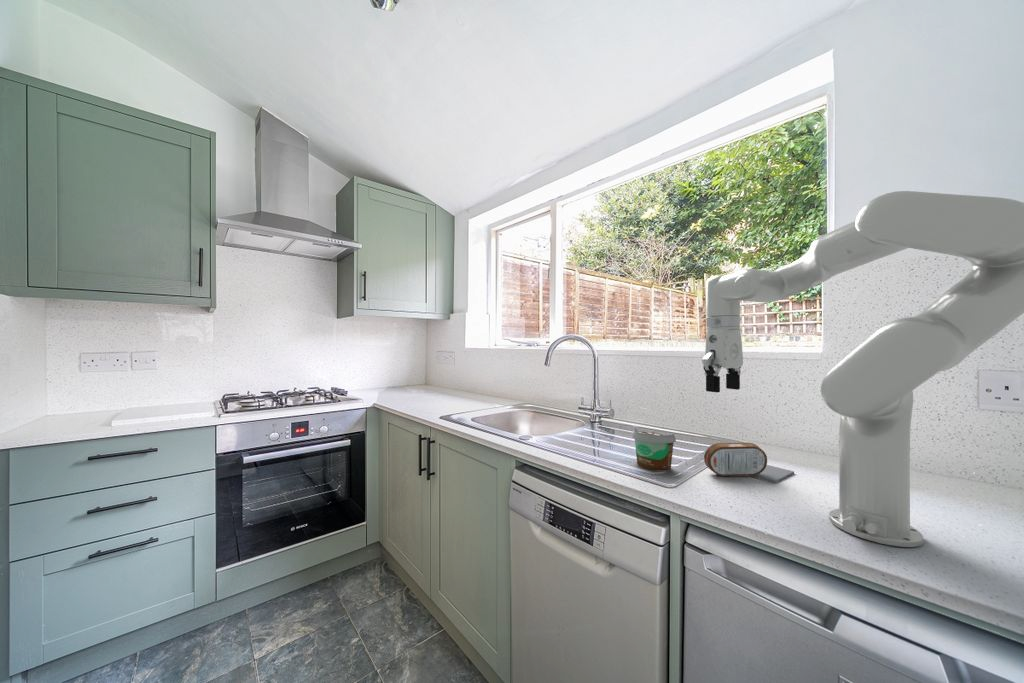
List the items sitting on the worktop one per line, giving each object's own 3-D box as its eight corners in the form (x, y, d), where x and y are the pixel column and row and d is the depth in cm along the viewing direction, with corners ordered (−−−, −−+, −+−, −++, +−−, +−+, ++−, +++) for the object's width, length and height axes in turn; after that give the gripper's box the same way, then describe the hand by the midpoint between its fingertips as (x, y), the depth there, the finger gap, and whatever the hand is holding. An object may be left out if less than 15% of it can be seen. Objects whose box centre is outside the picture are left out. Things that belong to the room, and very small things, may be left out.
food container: (624, 465, 105) (624, 430, 105) (634, 460, 110) (633, 427, 110) (668, 475, 97) (668, 438, 97) (676, 469, 101) (676, 434, 101)
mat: (775, 483, 91) (775, 480, 91) (711, 465, 105) (711, 463, 105) (794, 473, 98) (794, 471, 98) (731, 458, 111) (731, 456, 111)
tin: (763, 471, 97) (761, 440, 97) (770, 476, 94) (768, 444, 94) (704, 472, 99) (702, 442, 98) (709, 477, 96) (707, 446, 95)
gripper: (719, 322, 85) (720, 394, 85) (755, 324, 95) (755, 389, 94) (689, 323, 91) (689, 391, 91) (725, 325, 101) (725, 386, 101)
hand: (723, 390), depth 93 cm, fingers open, 9 cm apart
